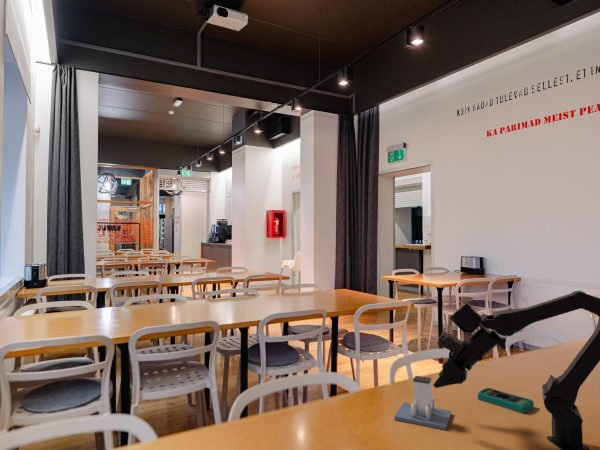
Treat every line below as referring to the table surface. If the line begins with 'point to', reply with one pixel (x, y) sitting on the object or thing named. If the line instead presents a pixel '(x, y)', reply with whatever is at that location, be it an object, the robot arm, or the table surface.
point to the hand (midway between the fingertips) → (437, 381)
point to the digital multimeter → (506, 400)
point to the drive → (422, 394)
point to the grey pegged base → (436, 420)
